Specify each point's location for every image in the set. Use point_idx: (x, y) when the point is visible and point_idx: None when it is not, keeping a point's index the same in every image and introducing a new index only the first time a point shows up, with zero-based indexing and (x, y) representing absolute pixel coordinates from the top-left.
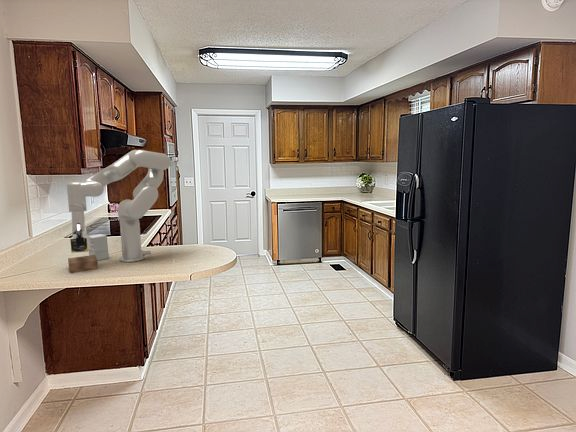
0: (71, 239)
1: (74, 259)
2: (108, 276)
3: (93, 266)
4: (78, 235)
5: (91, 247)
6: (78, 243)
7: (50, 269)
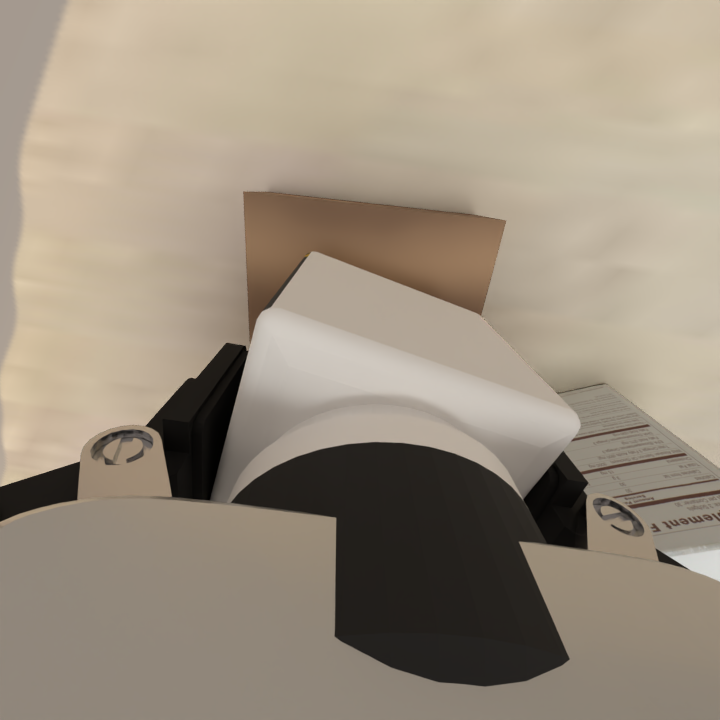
0: (257, 324)
1: (398, 267)
2: (53, 391)
3: None
4: (25, 510)
5: (612, 458)
6: (186, 384)
7: (532, 42)
